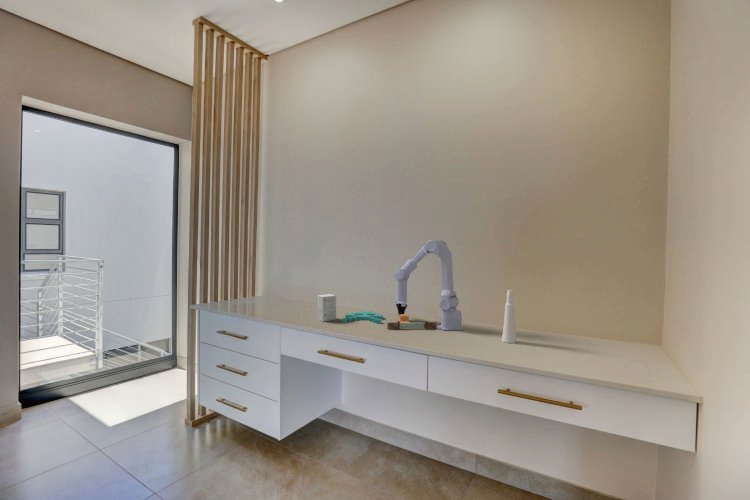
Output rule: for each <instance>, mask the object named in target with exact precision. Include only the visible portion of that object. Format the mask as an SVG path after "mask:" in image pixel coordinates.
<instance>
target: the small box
mask: <svg viewBox="0 0 750 500" xmlns="http://www.w3.org/2000/svg"><path fill="white" fill-rule="evenodd" d="M316 302H317V312H316V313H317V317H316V319H317V320H318V321H320V320H321V321H320V322H323V321H324V322H329V321H336V320H337V295H335V294H332V293H328V294H318V295H317V300H316Z"/></svg>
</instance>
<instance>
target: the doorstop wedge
mask: <svg viewBox="0 0 750 500" xmlns="http://www.w3.org/2000/svg"><path fill="white" fill-rule="evenodd" d="M398 317H399V320H398V321H400V323H411V322H410V320H409V319H410V316H409V314H405V313H404V314H398Z"/></svg>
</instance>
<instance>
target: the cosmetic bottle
mask: <svg viewBox="0 0 750 500" xmlns="http://www.w3.org/2000/svg"><path fill="white" fill-rule="evenodd" d="M514 301H515V300H514V290H513V289H507V292H506V303H505V305H504V317H503V330H502V335H501V342H503V343H508V344H516V343H517V341H518V340H517V335H516V314H515V313H516V312H515V311H516V310H515V303H514Z"/></svg>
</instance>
